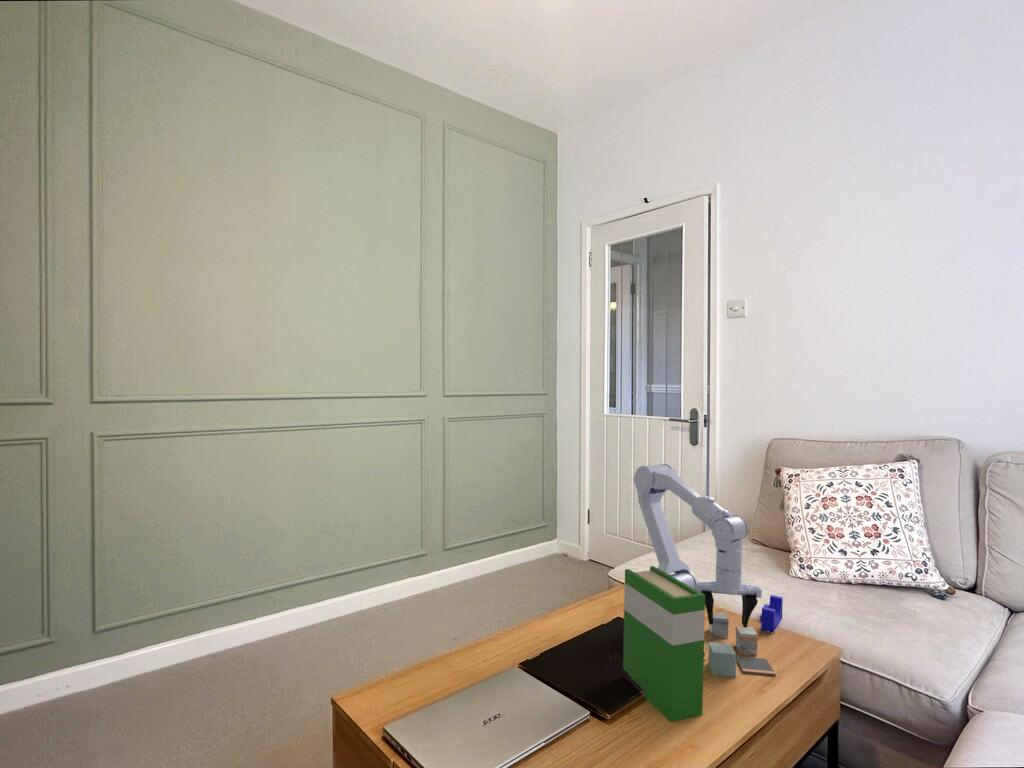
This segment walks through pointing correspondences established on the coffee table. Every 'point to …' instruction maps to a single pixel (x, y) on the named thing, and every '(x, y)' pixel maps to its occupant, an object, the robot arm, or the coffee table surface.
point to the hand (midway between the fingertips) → (727, 624)
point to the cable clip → (772, 614)
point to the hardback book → (665, 641)
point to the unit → (722, 659)
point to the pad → (755, 666)
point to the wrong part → (719, 625)
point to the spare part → (746, 640)
